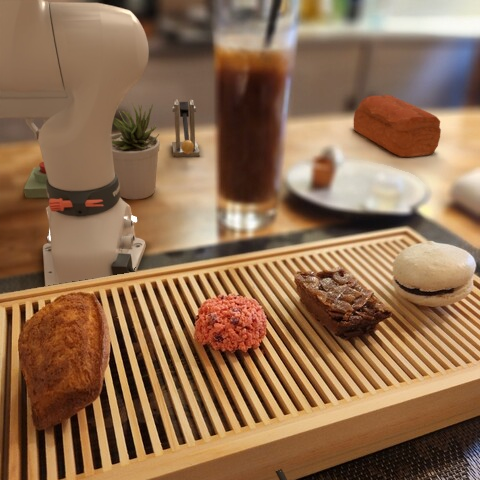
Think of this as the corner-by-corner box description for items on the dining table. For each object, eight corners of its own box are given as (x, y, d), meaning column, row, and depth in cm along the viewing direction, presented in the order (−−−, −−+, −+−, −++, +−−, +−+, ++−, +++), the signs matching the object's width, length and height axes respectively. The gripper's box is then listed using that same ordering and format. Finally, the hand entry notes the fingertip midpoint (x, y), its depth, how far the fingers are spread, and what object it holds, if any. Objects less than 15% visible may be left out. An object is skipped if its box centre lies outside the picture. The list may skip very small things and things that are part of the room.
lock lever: (194, 156, 117) (194, 146, 114) (181, 156, 117) (181, 147, 114) (189, 110, 123) (189, 100, 121) (177, 110, 123) (177, 100, 120)
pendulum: (199, 156, 126) (198, 106, 118) (173, 156, 125) (170, 106, 117) (197, 145, 132) (196, 97, 124) (172, 146, 131) (169, 97, 123)
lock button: (58, 174, 105) (56, 167, 103) (39, 175, 104) (37, 167, 103) (60, 167, 108) (59, 160, 106) (42, 168, 107) (40, 160, 106)
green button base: (72, 196, 104) (69, 180, 102) (26, 198, 103) (21, 181, 100) (78, 175, 113) (75, 159, 111) (36, 176, 112) (31, 159, 109)
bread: (386, 125, 153) (395, 90, 146) (440, 154, 135) (453, 115, 128) (346, 128, 149) (353, 93, 142) (396, 159, 130) (407, 120, 123)
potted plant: (107, 208, 101) (92, 112, 88) (107, 182, 111) (94, 92, 98) (165, 205, 103) (159, 110, 90) (160, 179, 113) (154, 91, 100)
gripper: (-34, 70, 88) (-12, 144, 97) (77, 71, 91) (89, 142, 100) (-25, 64, 93) (-4, 134, 102) (80, 64, 96) (92, 133, 104)
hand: (43, 138), depth 101 cm, fingers closed
